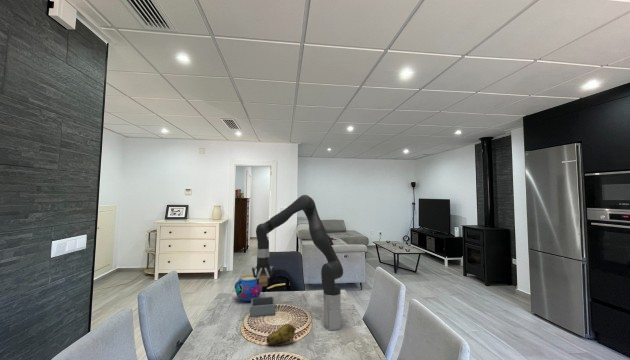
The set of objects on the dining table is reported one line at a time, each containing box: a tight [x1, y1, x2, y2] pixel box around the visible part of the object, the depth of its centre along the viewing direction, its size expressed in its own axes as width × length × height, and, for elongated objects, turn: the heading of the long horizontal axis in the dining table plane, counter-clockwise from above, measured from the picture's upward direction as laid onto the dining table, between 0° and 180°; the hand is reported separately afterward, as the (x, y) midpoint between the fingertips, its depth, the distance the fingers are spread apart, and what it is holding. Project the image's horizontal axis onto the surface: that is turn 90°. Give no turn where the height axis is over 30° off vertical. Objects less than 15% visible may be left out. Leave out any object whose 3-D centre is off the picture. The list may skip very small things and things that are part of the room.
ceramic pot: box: [234, 274, 263, 302], centre depth 181 cm, size 18×18×15 cm
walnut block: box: [259, 273, 268, 288], centre depth 162 cm, size 5×5×6 cm
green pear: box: [266, 323, 296, 345], centre depth 125 cm, size 8×13×8 cm, turn 83°
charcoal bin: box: [250, 296, 276, 318], centre depth 161 cm, size 14×14×6 cm
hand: (263, 284), depth 162 cm, fingers closed on walnut block, 5 cm apart
